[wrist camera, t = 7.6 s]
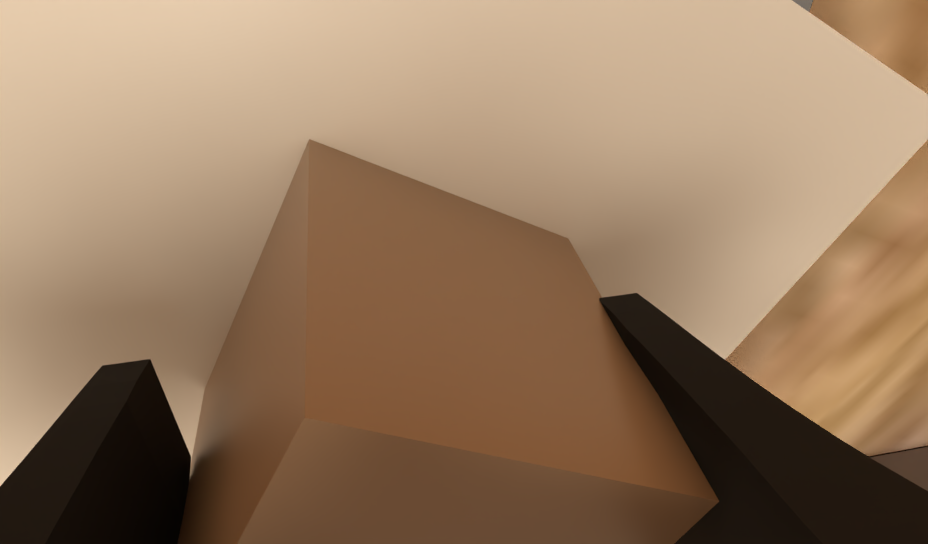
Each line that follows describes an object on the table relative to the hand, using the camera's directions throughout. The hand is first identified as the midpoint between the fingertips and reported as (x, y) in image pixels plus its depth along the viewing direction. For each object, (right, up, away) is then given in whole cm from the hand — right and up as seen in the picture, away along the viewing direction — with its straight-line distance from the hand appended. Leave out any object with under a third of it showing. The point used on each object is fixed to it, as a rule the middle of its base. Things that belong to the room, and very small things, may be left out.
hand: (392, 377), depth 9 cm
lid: (0, +1, +2) cm, 2 cm away
